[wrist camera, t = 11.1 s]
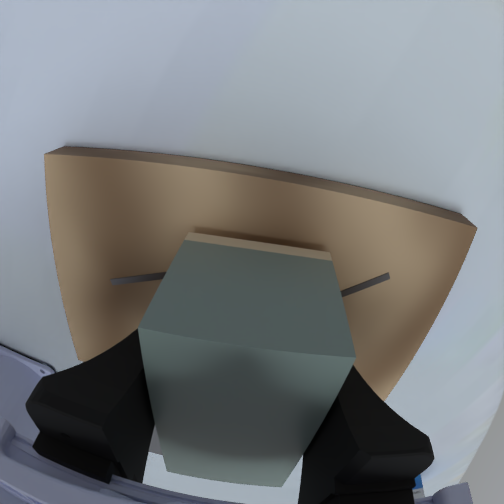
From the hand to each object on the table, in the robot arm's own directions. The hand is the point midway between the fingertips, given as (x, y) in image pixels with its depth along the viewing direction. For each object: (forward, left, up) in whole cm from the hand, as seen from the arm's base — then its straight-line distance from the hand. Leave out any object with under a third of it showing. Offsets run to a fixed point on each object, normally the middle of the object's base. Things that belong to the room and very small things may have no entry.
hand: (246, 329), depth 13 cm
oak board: (0, 0, -2) cm, 2 cm away
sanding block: (0, -1, 0) cm, 1 cm away
